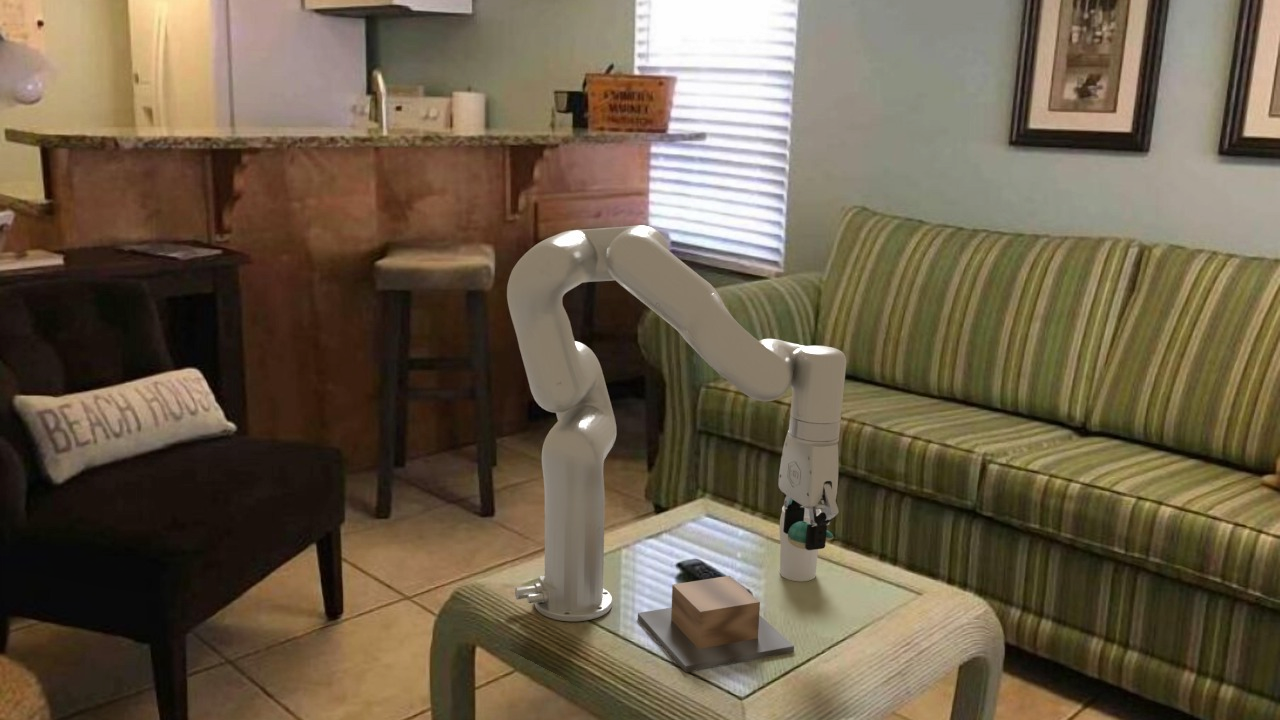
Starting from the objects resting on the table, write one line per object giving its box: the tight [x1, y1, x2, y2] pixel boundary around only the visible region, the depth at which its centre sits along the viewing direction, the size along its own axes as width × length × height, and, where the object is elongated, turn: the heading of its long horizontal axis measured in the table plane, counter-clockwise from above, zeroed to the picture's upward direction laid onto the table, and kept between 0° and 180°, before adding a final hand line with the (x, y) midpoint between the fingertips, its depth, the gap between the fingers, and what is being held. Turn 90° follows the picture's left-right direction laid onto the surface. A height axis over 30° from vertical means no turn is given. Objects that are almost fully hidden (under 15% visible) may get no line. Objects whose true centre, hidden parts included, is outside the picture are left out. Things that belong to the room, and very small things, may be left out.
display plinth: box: [637, 575, 795, 673], centre depth 171 cm, size 18×18×7 cm
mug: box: [779, 505, 822, 582], centre depth 195 cm, size 10×7×12 cm, turn 22°
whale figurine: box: [788, 521, 834, 549], centre depth 171 cm, size 6×7×4 cm
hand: (803, 539), depth 171 cm, fingers closed on whale figurine, 5 cm apart
